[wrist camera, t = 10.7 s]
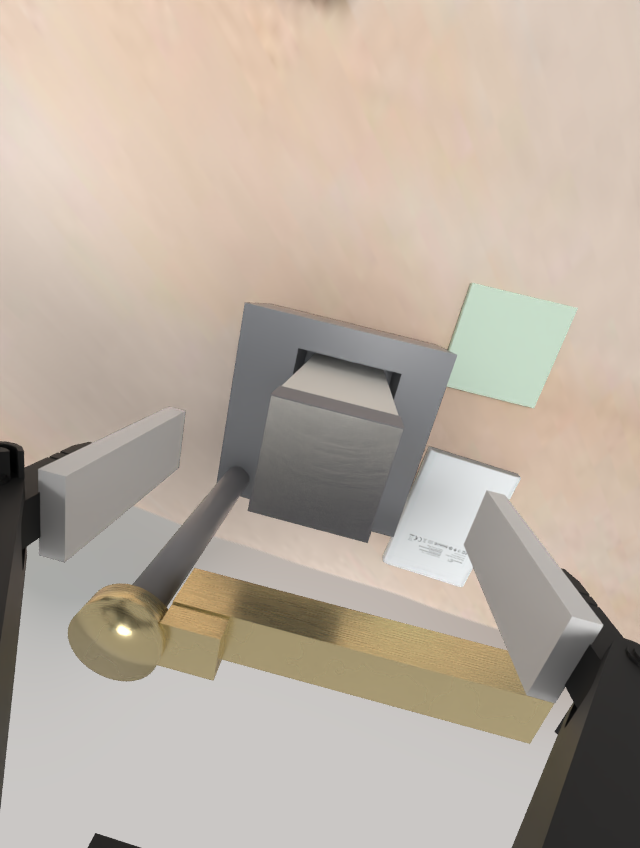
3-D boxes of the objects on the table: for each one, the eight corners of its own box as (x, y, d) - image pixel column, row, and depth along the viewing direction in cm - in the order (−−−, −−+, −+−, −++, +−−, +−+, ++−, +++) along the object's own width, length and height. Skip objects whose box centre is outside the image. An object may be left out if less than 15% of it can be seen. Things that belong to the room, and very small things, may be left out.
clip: (122, 600, 18) (68, 667, 14) (126, 539, 17) (67, 596, 13) (506, 703, 17) (541, 799, 14) (537, 647, 16) (582, 736, 13)
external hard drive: (515, 470, 33) (459, 577, 37) (427, 443, 33) (381, 553, 37) (522, 479, 31) (464, 589, 35) (431, 450, 32) (382, 563, 35)
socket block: (243, 455, 35) (100, 631, 16) (270, 303, 30) (117, 295, 11) (387, 492, 34) (417, 721, 15) (436, 344, 30) (564, 407, 11)
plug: (300, 417, 31) (247, 510, 17) (315, 352, 29) (270, 394, 15) (365, 434, 31) (367, 542, 16) (384, 369, 29) (404, 428, 15)
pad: (436, 382, 31) (437, 384, 30) (470, 283, 28) (472, 282, 28) (530, 406, 30) (534, 408, 30) (573, 308, 28) (577, 308, 27)
